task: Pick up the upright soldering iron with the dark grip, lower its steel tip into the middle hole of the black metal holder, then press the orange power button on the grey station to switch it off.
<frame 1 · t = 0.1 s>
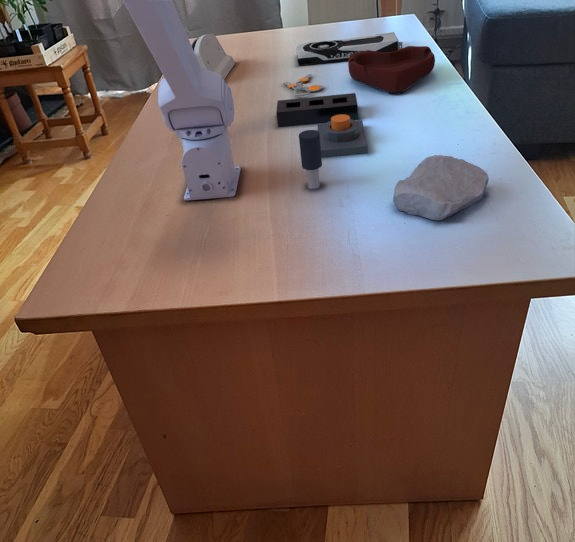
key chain: (302, 87, 119), on the table
holder: (317, 117, 105), on the table
stone block: (443, 201, 77), on the table
ashtray: (392, 84, 116), on the table
station: (341, 142, 95), on the table
power button: (340, 122, 93), point 4 cm above the table, slide at 0.1 cm
graphics card: (347, 55, 134), on the table
hinge: (213, 76, 133), on the table
iron: (313, 186, 84), on the table
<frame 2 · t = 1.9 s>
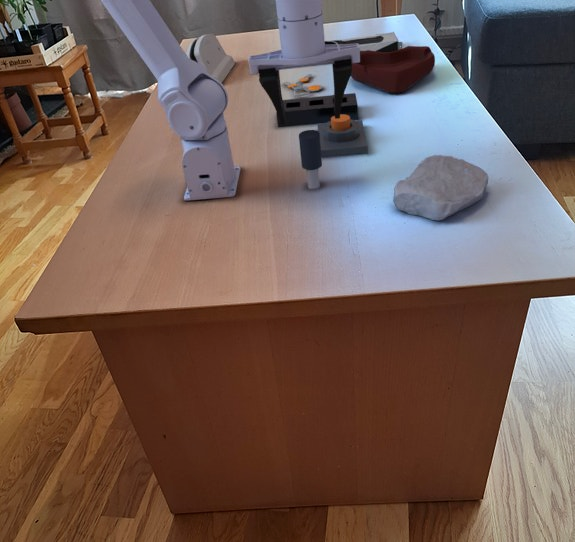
hand: (310, 118, 77), 11 cm above the table, tool pointing down, fingers open, 7 cm apart
nothing on the table moved.
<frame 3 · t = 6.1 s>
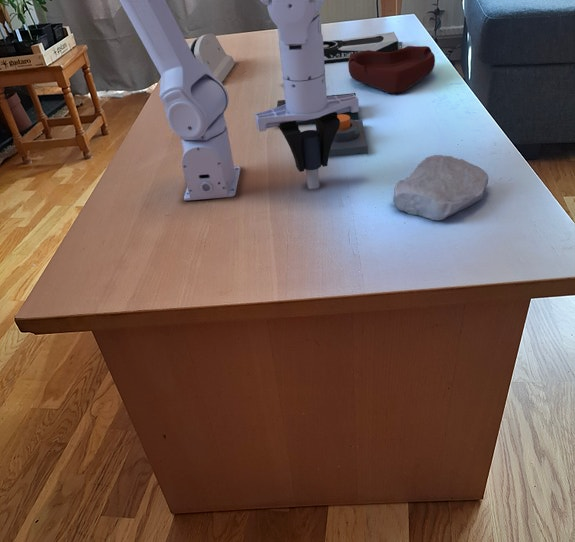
hand: (312, 166, 81), 3 cm above the table, tool pointing down, fingers closed on iron, 3 cm apart
iron: (313, 186, 84), on the table, touching gripper
everything else where it was.
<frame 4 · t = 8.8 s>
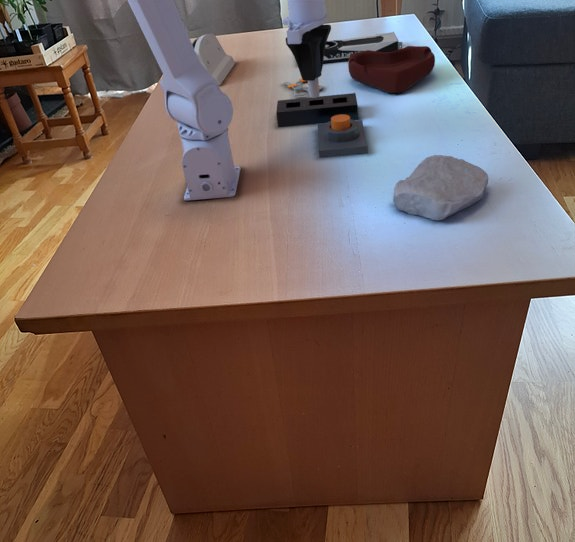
hand: (312, 76, 92), 10 cm above the table, tool pointing down, fingers closed on iron, 3 cm apart
iron: (314, 96, 94), point 7 cm above the table, touching gripper
everything else where it was.
when the fingers open (3 cm above the table, at t = 11.8 s): iron stays where it is, resting in holder.
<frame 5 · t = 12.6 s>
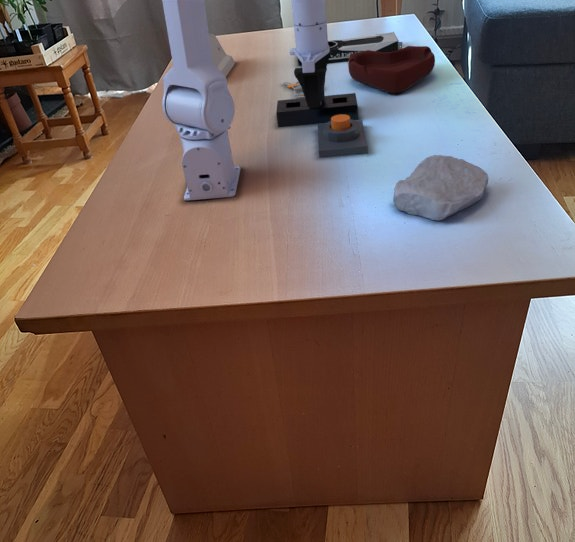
hand: (316, 99, 103), 4 cm above the table, tool pointing down, fingers open, 7 cm apart
iron: (318, 117, 105), resting in holder
everything else where it was.
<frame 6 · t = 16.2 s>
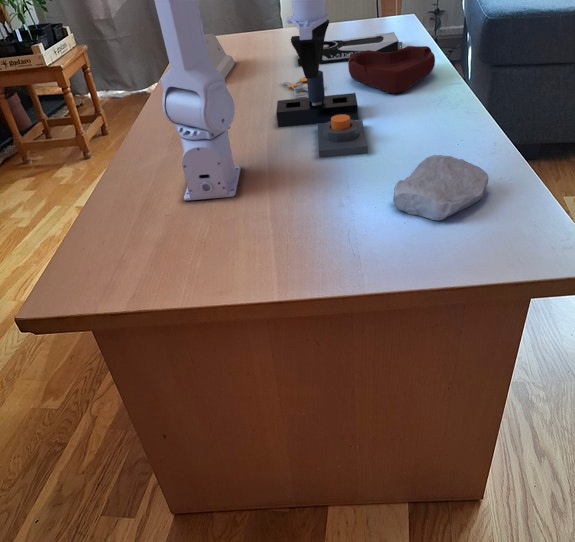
hand: (313, 70, 100), 9 cm above the table, tool pointing down, fingers open, 7 cm apart
nothing on the table moved.
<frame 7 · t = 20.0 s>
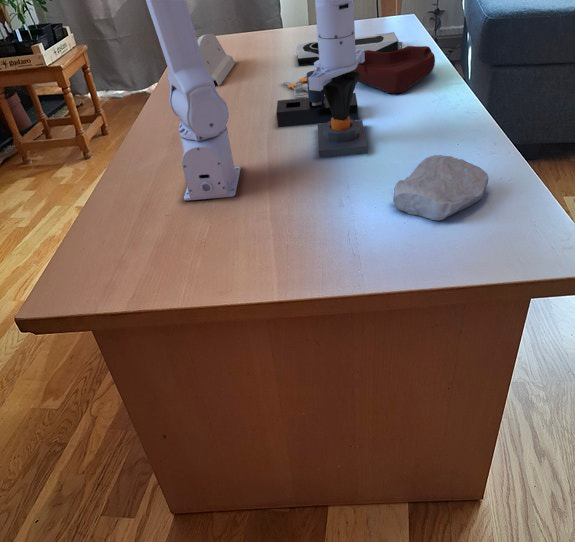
hand: (340, 118, 92), 4 cm above the table, tool pointing down, fingers closed, pressing on power button
power button: (340, 123, 93), point 3 cm above the table, slide at 0.1 cm, touching gripper
everything else where it was.
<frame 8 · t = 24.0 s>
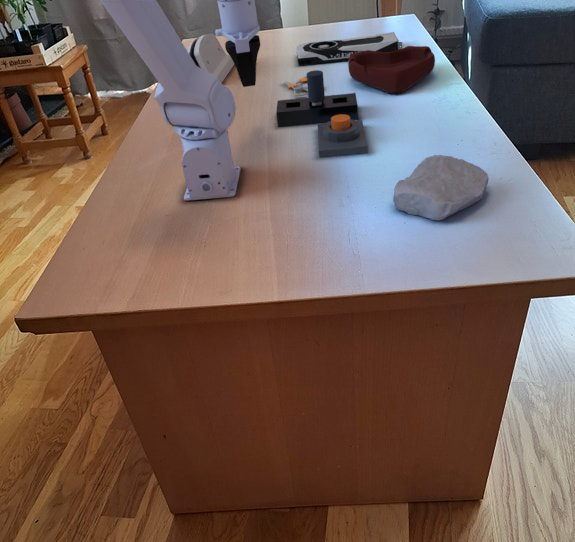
hand: (249, 85, 93), 10 cm above the table, tool pointing down, fingers closed
power button: (340, 122, 93), point 4 cm above the table, slide at 0.1 cm
everything else where it was.
at the end: iron 0.1 cm off-centre in the holder, point 0.0 cm above the holder's base; iron tilted 0°; power button pushed in 1.0 cm at the most during the clip, back to where it started at the end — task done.
